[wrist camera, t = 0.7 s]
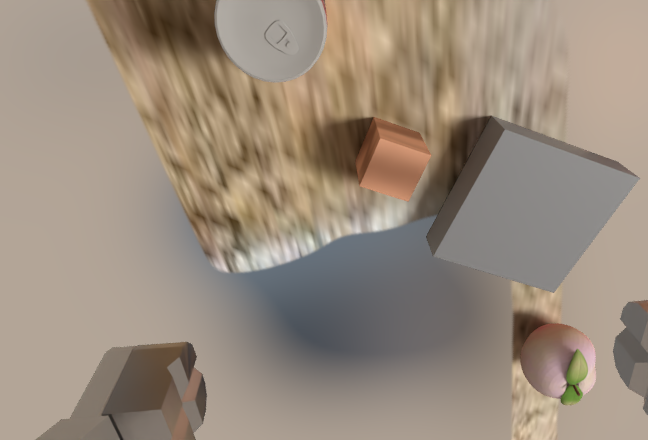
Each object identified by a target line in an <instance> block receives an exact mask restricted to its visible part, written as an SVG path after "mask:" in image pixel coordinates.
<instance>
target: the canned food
mask: <svg viewBox="0 0 648 440" xmlns="http://www.w3.org/2000/svg"><path fill="white" fill-rule="evenodd" d="M214 15H215V28H216V32H217V37H218V39H219V41H220V44H221V46H222V48H223V50H224V51H225V53H226V55H227V56H228V58H229V59H230V60H231V61H232V62H233V63H234V64H235V65H236V66H237V67H238V68H239V69H241V70H242V71H243V72H244V73H246V74H248V75H250V76H252V77H254V78H256V79H259V80H262V81H267V82H286V81H289V80H293V79H296V78H297V77H299V76H301V75H303V74H304V73H306V72H307V71H308V70H309V69H310V68H312V66H313V65H314V64H315V62H316V61H317V60H318V59H319V57H320V55H321V53H322V51H323V49H324V45H325V41H326V37H327V16H326V8H325V0H217V1H216V6H215V13H214Z"/></svg>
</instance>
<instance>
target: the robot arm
mask: <svg viewBox="0 0 648 440" xmlns="http://www.w3.org/2000/svg"><path fill="white" fill-rule="evenodd" d="M620 319H621V321H622V322H623V323H624V325H625V326H626V328H625V329H624V330H623V331H622V332H621V333H620V334H619V335H618V336H617V337H616V338H615V343H614V349H613V353H614V360H615V366H616V368H617V370H618V373H619V375H620V377H621V378H622V380H623V381H624V383H625V384H626V386H627V387H628V388H629V389H630V390H632V391H634V392H636V393H637V394H639V395H641V396H642V397H644V406H643V409H644V411H645V412H646V414H647V415H648V300H644V301H634V302H628V303H627V304H626V306H625V307H624V308H623V311H622V315H621V318H620ZM196 357H197V356H196V353H195V351H194V348H193V345H192V344H191V343H188V342H180V343H166V344H151V345H138V346H129V347H113V348H111V349H110V350H108V351H107V352H106V353H105V354H104V356H103V358H102V360H101V362H100V364H99V366H98V367H97V369H96V371H95V373H94V375H93V377H92V378H91V380H90V382H89V384H88V386H87V387H86V389H85V391H84V393H83V395H82V397H81V399H80V400H79V402H78V404H77V406H76V408H75V410H74V412H73V413H72V415H71V417H70V419H61V420H60V421H59V422H57V423H56V424H55V425H54V426H52V427H51V428H50V429H49V430H47V431H46V432H45V433H43V434H42V435H41V436H40V437H38V438H37V439H36V440H196V439H195V436H194V432H195V431H196V430H197V429H198V428H199V427H200V426H201V425H202V424H203V421H204V416H205V412H206V398H207V393H206V386H205V381H204V378H203V374H202V373H201V372H199V371H198V370H197V369H195V368H194V364H195V361H196Z"/></svg>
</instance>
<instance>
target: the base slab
mask: <svg viewBox="0 0 648 440" xmlns="http://www.w3.org/2000/svg"><path fill="white" fill-rule="evenodd" d="M639 179H640V178H639V177H638V176H636V175H635V174H634V173H632V172H631V171H629V170H628V169H627V168H625V167H624V166H623V165H621V164H620V163H619V162H617V161H614V160H611V159H608V158H605V157H603V156H600V155H597V154H595V153H592V152H589V151H587V150H584V149H581V148H578V147H576V146H573V145H570V144H567V143H565V142H562V141H559V140H556V139H554V138H551V137H548V136H546V135H543V134H540V133H537V132H535V131H532V130H529V129H526V128H524V127H521V126H518V125H515V124H513V123H510V122H507V121H504V120H502V119H499V118H496V117H494V116H491V118H490V119H489V121H488V123H487V125H486V127H485V129H484V131H483V132H482V134H481V136H480V138H479V140H478V142H477V143H476V145H475V147H474V149H473V151H472V153H471V155H470V156H469V158H468V160H467V162H466V164H465V166H464V167H463V169H462V171H461V173H460V175H459V177H458V179H457V180H456V182H455V184H454V186H453V188H452V190H451V191H450V193H449V195H448V197H447V199H446V201H445V203H444V204H443V206H442V208H441V210H440V212H439V214H438V215H437V217H436V219H435V221H434V223H433V225H432V227H431V228H430V230H429V232H428V234H427V236H426V238H427V241H428V243H429V246H430V249H431V252H432V254H433V256H434V257H437V258H440V259H443V260H447V261H450V262H453V263H457V264H460V265H463V266H467V267H470V268H473V269H476V270H480V271H483V272H487V273H490V274H493V275H496V276H500V277H503V278H506V279H510V280H513V281H516V282H520V283H523V284H526V285H530V286H533V287H536V288H540V289H543V290H546V291H550V292H553V293H554V292H555V291H556V289H557V288H558V287H559V285H560V284H561V283H562V281H563V280H564V279H565V277H566V276H567V275H568V273H569V272H570V271H571V269H572V268H573V267H574V265H575V264H576V263H577V261H578V260H579V258H580V257H581V256H582V255H583V253H584V252H585V251H586V249H587V248H588V247H589V245H590V244H591V243H592V241H593V240H594V239H595V237H596V236H597V235H598V233H599V232H600V231H601V229H602V228H603V227H604V225H605V224H606V223H607V221H608V220H609V219H610V217H611V216H612V215H613V213H614V212H615V211H616V209H617V208H618V207H619V205H620V204H621V203H622V201H623V200H624V199H625V197H626V196H627V195H628V193H629V192H630V191H631V190H632V188H633V187H634V186H635V184H636V183H637V181H638V180H639Z"/></svg>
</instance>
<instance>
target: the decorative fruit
mask: <svg viewBox="0 0 648 440" xmlns="http://www.w3.org/2000/svg"><path fill="white" fill-rule="evenodd" d="M595 360H596V357H595V349H594V346H593V344H592V343H591V341H590V340H589V338H588V337H587V336H586V335H584V334H583V333H582V332H580V331H579V330H577V329H575V328H573V327H571V326H568V325H564V324H547V325H543V326H541V327H539V328H537V329H535V330H534V331H533V332H532V333H531V334H530V335H529V337H528V338H527V339H526V341H525V343H524V344H523V347H522V350H521V357H520V361H521V367H522V370H523V373H524V375H525V377H526V379H527V380H528V382H529V383H530V384H531V385H532V386H533V387H534V388H535V389H536V390H537V391H538V392H540V393H542V394H544V395H546V396H548V397H552V398H560V399H561V403H562V404H564V405H574V404H576V403H577V402H579V401H580V399H581V398H582V396H583V395H584V394H586V393H587V392H589V391H590V390H591V388H592V387H593V386H594V383H595V381H596V370H595Z"/></svg>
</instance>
